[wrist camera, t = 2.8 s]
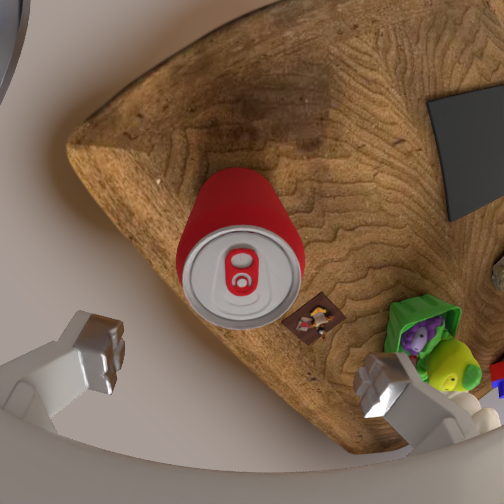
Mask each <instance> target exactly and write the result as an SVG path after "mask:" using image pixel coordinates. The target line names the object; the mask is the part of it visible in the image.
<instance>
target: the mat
mask: <svg viewBox="0 0 504 504" xmlns="http://www.w3.org/2000/svg"><path fill="white" fill-rule="evenodd" d="M426 105H427V108H428V112H429V115H430V119H431V123H432V127H433V131H434V135H435V140H436V144H437V149H438V153H439V158H440V163H441V169H442V175H443V181H444V187H445V194H446V201H447V209H448V218H449V222H453V221H455V220H457V219H459V218H461V217H463V216H465V215H467V214H469V213H471V212H473V211H475V210H477V209H479V208H481V207H483V206H484V205H486V204H488V203H490V202H492V201H494V200H496V199H498V198H500V197H502V196H503V195H504V85H501V86H495V87H490V88H485V89H480V90H475V91H471V92H466V93H462V94H457V95H453V96H449V97H445V98H441V99H437V100H433V101H429V102H426Z"/></svg>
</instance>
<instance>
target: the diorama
mask: <svg viewBox="0 0 504 504" xmlns="http://www.w3.org/2000/svg"><path fill="white" fill-rule="evenodd" d="M345 319H346V317H345V316H344V315H343V314H342V313H341V312H340V311H339V310H338V309H337V308H336V307H335V306H334V305H333V304H332V303H331V302H330V300H329V299H328V298H327V297H326V296H325V295H324V294H323V293H321V294H319V295H318V296H317V297H315V298H314V299H313V300H311V301H310V302H309V303H307V304H306V305H305V306H304V307H302V308H301V309H299V310H298V311H297V312H295V313H294V314H293V315H291V316H290V317H289V318H287V319H286V320H285V321H283V322H282V324H283V325H284V326H285V327H287V328H288V329H289V330H290V331H291V332H292V333H294V334H295V335H296V336H297V337H298V338H300V339H301V340H302V341H303V342H304V343H306V344H307V345H310V344H311V343H312V342H314V341H315V340H317V339H318V338H320V337H321V336H322V338H323V341H324V342H325V341H326V338H325V333H327V332H328V331H329V330H331V329H332V328H334V327H335V326H336V325H338V324H339V323H340V322H342V321H343V320H345ZM323 336H324V337H323Z"/></svg>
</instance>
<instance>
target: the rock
mask: <svg viewBox="0 0 504 504" xmlns="http://www.w3.org/2000/svg"><path fill="white" fill-rule="evenodd" d="M492 282H493V285H494V286H495V288H497V289H499V290H500V291H504V256H503V258H502V259H500V261H498V262H497V263H496V264H495V265H494V266H493V275H492Z"/></svg>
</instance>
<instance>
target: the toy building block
mask: <svg viewBox="0 0 504 504" xmlns="http://www.w3.org/2000/svg"><path fill="white" fill-rule="evenodd" d="M490 370H491V382H492V387H493V388H496V387H498V390H499V398H504V361H501V362H499V363H496V364H493V365H490Z"/></svg>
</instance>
